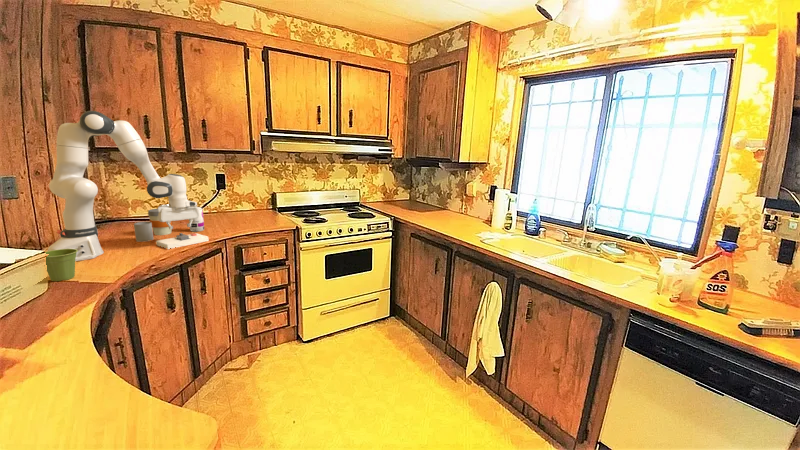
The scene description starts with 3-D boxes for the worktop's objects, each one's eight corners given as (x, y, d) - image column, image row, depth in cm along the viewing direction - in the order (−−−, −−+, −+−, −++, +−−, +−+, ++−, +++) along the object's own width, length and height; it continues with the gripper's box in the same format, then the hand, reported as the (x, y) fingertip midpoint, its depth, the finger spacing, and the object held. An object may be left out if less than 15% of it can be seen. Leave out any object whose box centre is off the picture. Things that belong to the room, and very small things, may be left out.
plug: (182, 244, 199) (180, 235, 198) (177, 243, 202) (176, 233, 201) (189, 243, 203) (188, 233, 201) (184, 241, 206) (183, 232, 204)
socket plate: (167, 249, 190) (167, 243, 189) (156, 245, 197) (155, 239, 196) (208, 240, 208) (208, 235, 207) (197, 237, 215) (196, 232, 214)
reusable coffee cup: (173, 234, 219) (170, 211, 216) (149, 236, 214) (145, 212, 210) (175, 230, 230) (172, 207, 227) (152, 232, 224) (149, 208, 221)
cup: (144, 242, 202) (142, 225, 200) (132, 241, 204) (129, 224, 202) (157, 238, 210) (155, 222, 208) (145, 237, 212) (143, 221, 210)
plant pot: (75, 281, 144) (70, 255, 142) (37, 285, 140) (31, 258, 137) (87, 272, 155) (82, 247, 152) (51, 275, 150) (46, 249, 148)
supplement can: (203, 228, 237) (201, 206, 234) (205, 231, 230) (202, 208, 227) (189, 229, 232) (187, 207, 229) (190, 232, 226) (188, 209, 223)
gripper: (160, 205, 187) (162, 231, 189) (199, 202, 203) (201, 226, 206) (154, 204, 190) (157, 229, 193) (194, 201, 207) (196, 224, 209)
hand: (180, 227), depth 200 cm, fingers open, 8 cm apart
